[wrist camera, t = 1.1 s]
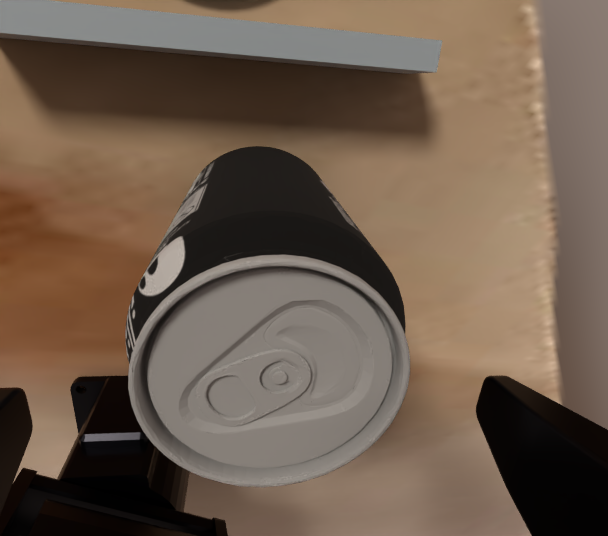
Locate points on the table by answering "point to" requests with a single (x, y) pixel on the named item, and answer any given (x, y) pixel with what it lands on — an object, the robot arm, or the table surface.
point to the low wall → (214, 37)
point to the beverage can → (265, 329)
